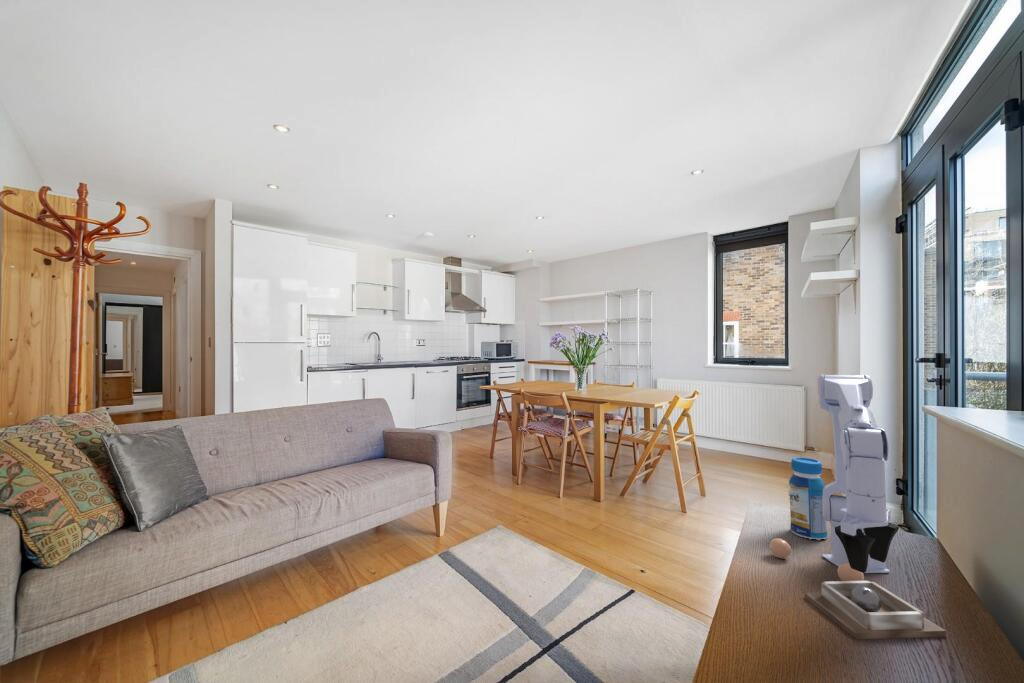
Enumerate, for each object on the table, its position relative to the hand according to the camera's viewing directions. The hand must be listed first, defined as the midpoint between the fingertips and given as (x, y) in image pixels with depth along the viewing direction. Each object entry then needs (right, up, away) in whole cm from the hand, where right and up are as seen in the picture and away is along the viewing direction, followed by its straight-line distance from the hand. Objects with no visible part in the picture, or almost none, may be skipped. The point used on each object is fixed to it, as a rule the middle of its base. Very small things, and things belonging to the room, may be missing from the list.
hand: (868, 565), depth 77 cm
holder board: (0, -9, 0) cm, 9 cm away
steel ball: (-1, -6, -1) cm, 6 cm away
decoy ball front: (-2, -8, +22) cm, 23 cm away
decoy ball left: (+5, -7, +10) cm, 13 cm away
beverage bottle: (+13, -11, +34) cm, 38 cm away
